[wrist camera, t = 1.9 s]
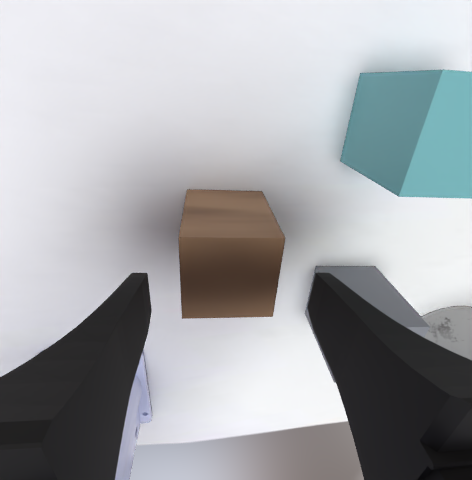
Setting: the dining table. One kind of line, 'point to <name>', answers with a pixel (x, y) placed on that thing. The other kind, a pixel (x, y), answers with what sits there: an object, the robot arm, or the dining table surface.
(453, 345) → the grey concrete cylinder
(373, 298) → the charcoal block
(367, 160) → the teal block
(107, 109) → the dining table surface
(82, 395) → the robot arm
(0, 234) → the dining table surface
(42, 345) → the dining table surface
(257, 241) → the walnut block
